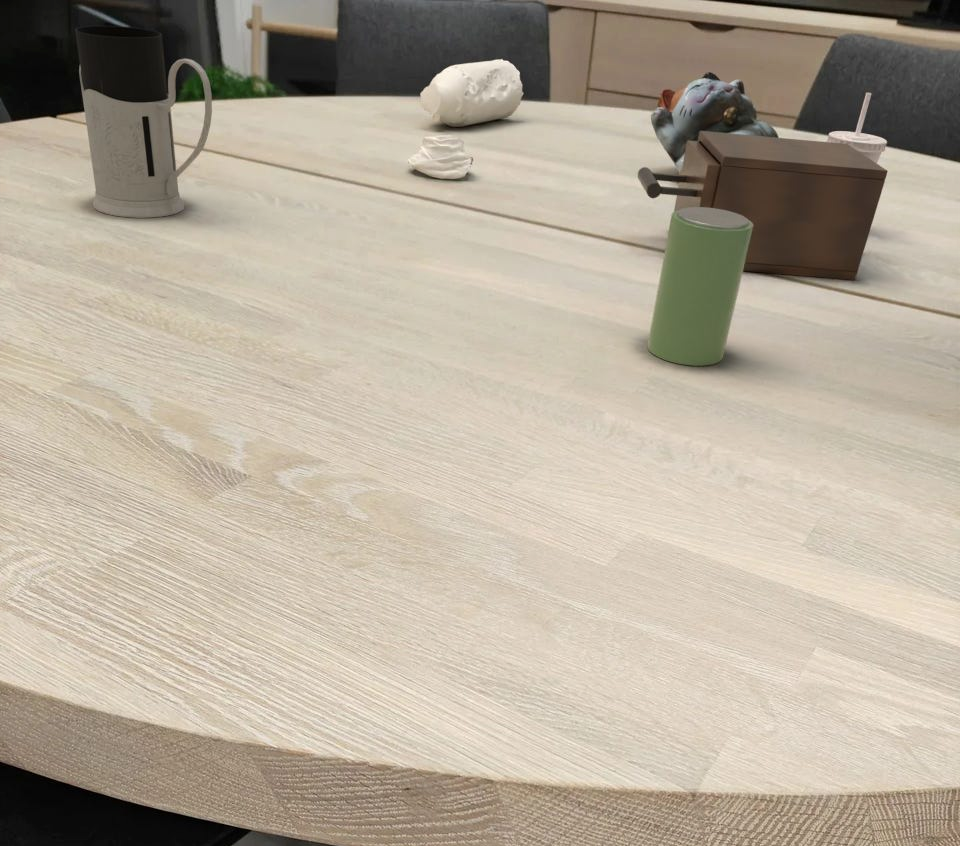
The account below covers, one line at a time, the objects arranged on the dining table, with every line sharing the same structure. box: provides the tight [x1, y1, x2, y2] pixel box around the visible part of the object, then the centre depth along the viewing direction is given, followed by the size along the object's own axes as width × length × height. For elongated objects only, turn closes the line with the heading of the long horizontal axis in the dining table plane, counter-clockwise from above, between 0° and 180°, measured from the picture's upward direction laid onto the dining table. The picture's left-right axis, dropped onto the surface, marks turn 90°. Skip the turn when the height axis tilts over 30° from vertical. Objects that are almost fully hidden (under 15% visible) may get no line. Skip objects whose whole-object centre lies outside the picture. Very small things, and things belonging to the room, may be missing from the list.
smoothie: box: [825, 92, 888, 164], centre depth 111 cm, size 6×6×14 cm
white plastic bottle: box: [419, 58, 525, 128], centre depth 146 cm, size 8×19×8 cm, turn 147°
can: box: [646, 207, 754, 367], centre depth 76 cm, size 6×6×10 cm
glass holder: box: [74, 25, 213, 219], centre depth 94 cm, size 9×14×15 cm, turn 64°
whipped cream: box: [407, 135, 474, 180], centre depth 120 cm, size 8×7×5 cm
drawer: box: [637, 141, 721, 212], centre depth 100 cm, size 19×11×8 cm, turn 90°
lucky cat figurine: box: [650, 71, 780, 175], centre depth 128 cm, size 15×12×14 cm
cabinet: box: [698, 131, 889, 281], centre depth 100 cm, size 16×13×10 cm
